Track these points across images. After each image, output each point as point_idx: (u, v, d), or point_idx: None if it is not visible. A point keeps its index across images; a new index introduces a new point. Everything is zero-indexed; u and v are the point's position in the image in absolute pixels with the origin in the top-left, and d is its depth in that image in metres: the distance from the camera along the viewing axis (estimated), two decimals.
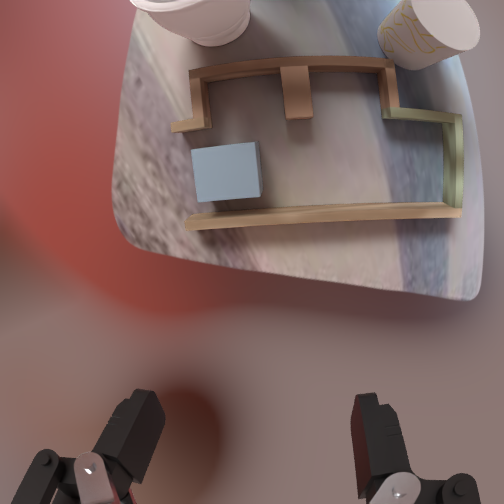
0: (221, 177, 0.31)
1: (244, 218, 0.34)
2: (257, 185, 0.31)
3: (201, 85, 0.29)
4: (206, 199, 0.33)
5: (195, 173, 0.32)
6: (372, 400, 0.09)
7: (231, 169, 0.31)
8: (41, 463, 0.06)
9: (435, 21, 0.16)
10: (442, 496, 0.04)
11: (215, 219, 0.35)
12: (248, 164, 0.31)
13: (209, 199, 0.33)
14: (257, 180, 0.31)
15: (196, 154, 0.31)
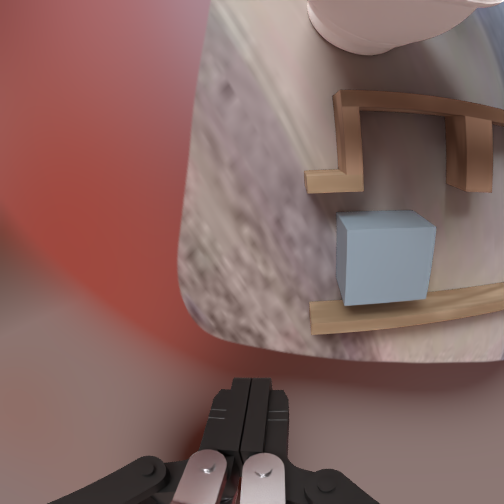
0: (384, 274, 0.20)
1: (393, 318, 0.23)
2: (426, 285, 0.20)
3: (358, 119, 0.18)
4: (357, 302, 0.21)
5: (348, 266, 0.20)
6: (264, 384, 0.10)
7: (401, 263, 0.20)
8: (140, 471, 0.07)
9: None
10: (310, 498, 0.06)
11: (356, 321, 0.24)
12: (423, 258, 0.19)
13: (361, 302, 0.21)
14: (428, 278, 0.20)
15: (355, 238, 0.20)
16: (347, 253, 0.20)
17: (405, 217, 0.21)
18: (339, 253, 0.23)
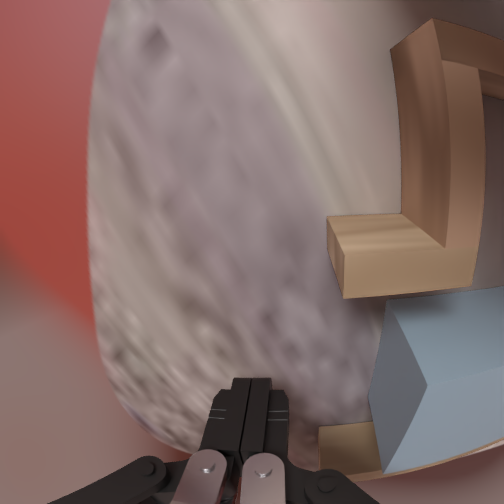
0: (465, 429, 0.07)
1: None
2: None
3: (474, 103, 0.05)
4: (406, 467, 0.08)
5: (409, 435, 0.07)
6: (264, 384, 0.10)
7: (496, 409, 0.07)
8: (140, 471, 0.07)
9: None
10: (310, 498, 0.06)
11: None
12: None
13: (413, 466, 0.08)
14: None
15: (438, 395, 0.07)
16: (413, 419, 0.07)
17: None
18: (385, 380, 0.11)
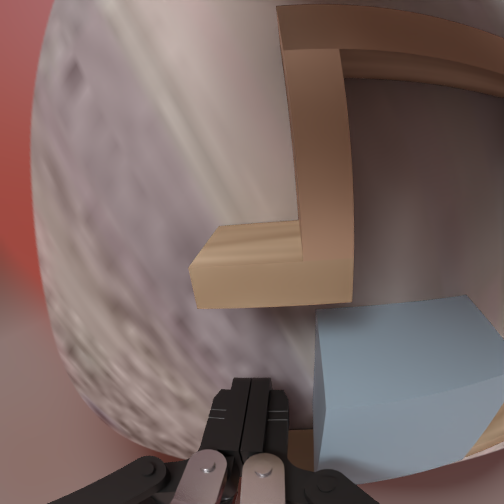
0: (400, 454, 0.08)
1: None
2: (471, 446, 0.07)
3: (341, 90, 0.06)
4: None
5: (325, 455, 0.08)
6: (264, 384, 0.10)
7: (437, 436, 0.07)
8: (140, 471, 0.07)
9: None
10: (310, 498, 0.06)
11: None
12: (480, 419, 0.07)
13: None
14: (477, 439, 0.07)
15: (344, 420, 0.07)
16: (323, 440, 0.07)
17: (461, 331, 0.08)
18: (316, 394, 0.11)
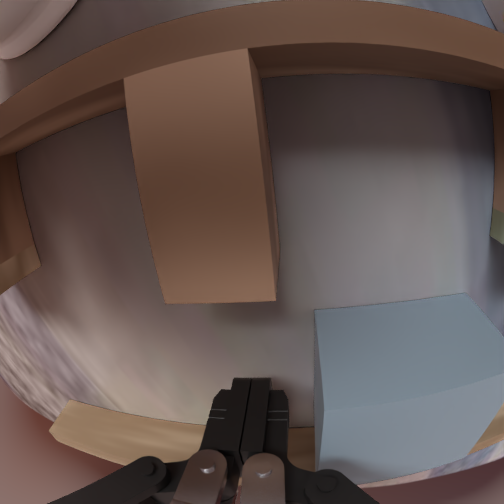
0: (401, 454, 0.08)
1: None
2: (473, 444, 0.07)
3: None
4: None
5: (325, 456, 0.08)
6: (264, 384, 0.10)
7: (437, 436, 0.07)
8: (140, 471, 0.07)
9: None
10: (310, 498, 0.06)
11: (89, 447, 0.13)
12: (481, 418, 0.07)
13: None
14: (478, 437, 0.07)
15: (343, 421, 0.07)
16: (323, 441, 0.07)
17: (461, 329, 0.08)
18: (316, 394, 0.11)
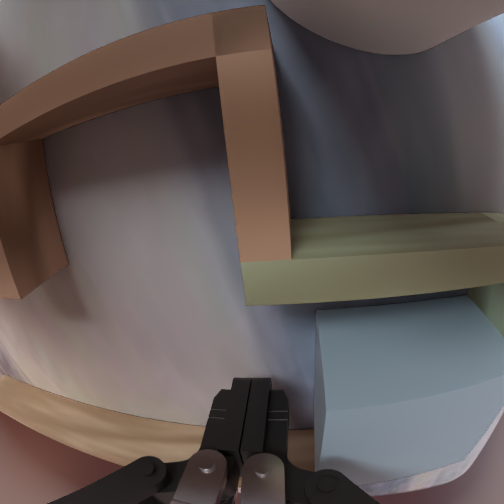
0: (401, 455, 0.08)
1: (28, 422, 0.14)
2: (472, 447, 0.07)
3: None
4: None
5: (325, 456, 0.08)
6: (264, 384, 0.10)
7: (438, 437, 0.07)
8: (140, 471, 0.07)
9: None
10: (310, 498, 0.06)
11: (5, 408, 0.14)
12: (481, 420, 0.07)
13: None
14: (478, 439, 0.07)
15: (345, 421, 0.07)
16: (324, 441, 0.07)
17: (463, 331, 0.08)
18: (316, 395, 0.11)
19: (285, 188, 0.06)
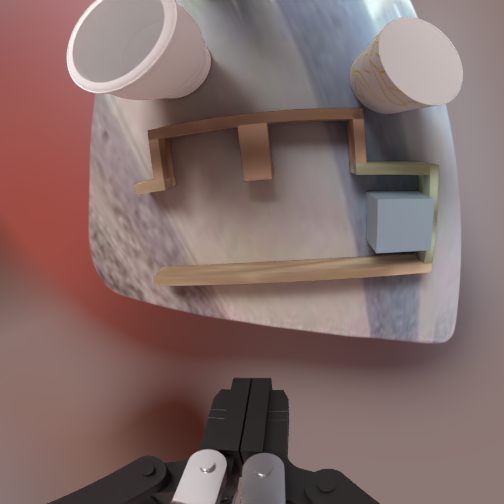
0: (402, 230, 0.29)
1: (207, 277, 0.36)
2: (430, 239, 0.29)
3: (160, 146, 0.31)
4: (384, 250, 0.30)
5: (379, 224, 0.30)
6: (264, 384, 0.10)
7: (412, 223, 0.29)
8: (140, 471, 0.07)
9: (407, 71, 0.18)
10: (310, 498, 0.06)
11: (180, 277, 0.36)
12: (426, 220, 0.29)
13: (387, 251, 0.30)
14: (431, 235, 0.29)
15: (382, 205, 0.29)
16: (377, 215, 0.29)
17: (413, 194, 0.30)
18: (369, 219, 0.33)
19: (365, 148, 0.28)
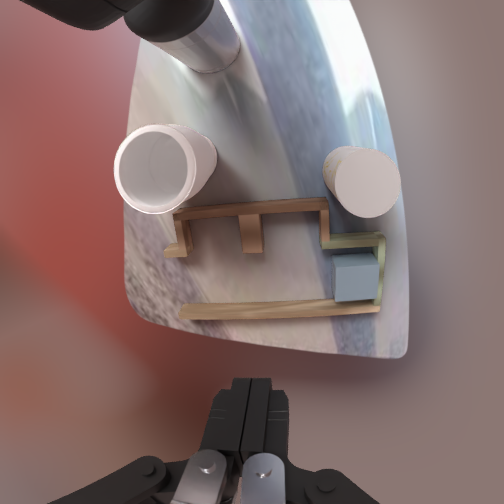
0: (354, 286, 0.44)
1: (217, 314, 0.50)
2: (376, 291, 0.44)
3: (182, 225, 0.45)
4: (341, 300, 0.45)
5: (336, 283, 0.44)
6: (264, 384, 0.10)
7: (362, 281, 0.44)
8: (140, 471, 0.07)
9: (354, 195, 0.32)
10: (310, 498, 0.06)
11: (198, 314, 0.51)
12: (373, 278, 0.43)
13: (343, 300, 0.45)
14: (377, 288, 0.44)
15: (339, 270, 0.43)
16: (336, 277, 0.44)
17: (366, 258, 0.45)
18: (332, 276, 0.47)
19: None
